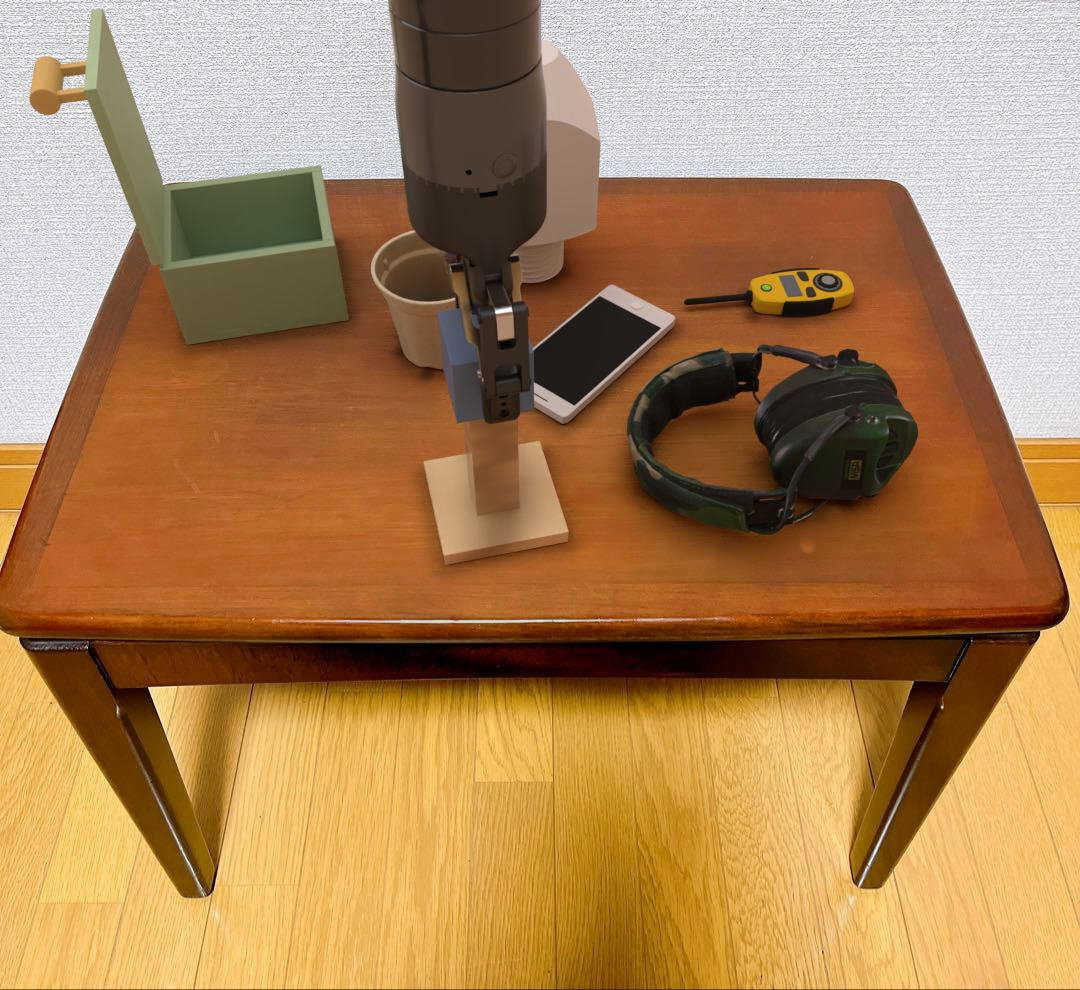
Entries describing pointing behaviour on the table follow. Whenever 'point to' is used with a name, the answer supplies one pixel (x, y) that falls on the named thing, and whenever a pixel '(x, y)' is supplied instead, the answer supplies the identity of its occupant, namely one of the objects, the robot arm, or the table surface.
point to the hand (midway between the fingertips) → (487, 370)
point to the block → (468, 369)
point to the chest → (251, 255)
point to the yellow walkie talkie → (793, 292)
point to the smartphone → (594, 350)
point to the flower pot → (414, 294)
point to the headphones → (778, 434)
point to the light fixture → (564, 168)
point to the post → (494, 495)
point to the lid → (110, 124)
